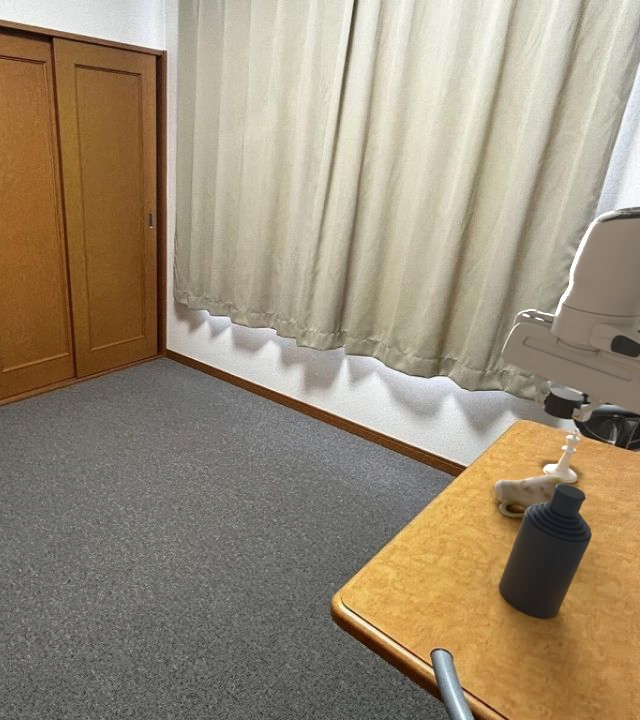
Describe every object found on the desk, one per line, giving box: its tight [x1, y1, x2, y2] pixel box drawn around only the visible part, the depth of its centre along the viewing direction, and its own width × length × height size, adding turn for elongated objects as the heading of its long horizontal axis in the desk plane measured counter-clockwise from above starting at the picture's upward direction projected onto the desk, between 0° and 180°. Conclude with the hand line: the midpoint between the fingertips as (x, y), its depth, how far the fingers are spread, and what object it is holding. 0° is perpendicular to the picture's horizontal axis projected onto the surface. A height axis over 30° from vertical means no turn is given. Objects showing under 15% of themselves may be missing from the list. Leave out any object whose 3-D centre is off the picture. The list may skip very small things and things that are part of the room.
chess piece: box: [543, 427, 581, 484], centre depth 87 cm, size 5×5×10 cm
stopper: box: [543, 387, 585, 421], centre depth 72 cm, size 4×4×3 cm
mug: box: [494, 474, 564, 519], centre depth 79 cm, size 8×10×10 cm
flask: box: [498, 483, 593, 620], centre depth 61 cm, size 7×7×18 cm
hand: (560, 410), depth 73 cm, fingers closed on stopper, 4 cm apart
